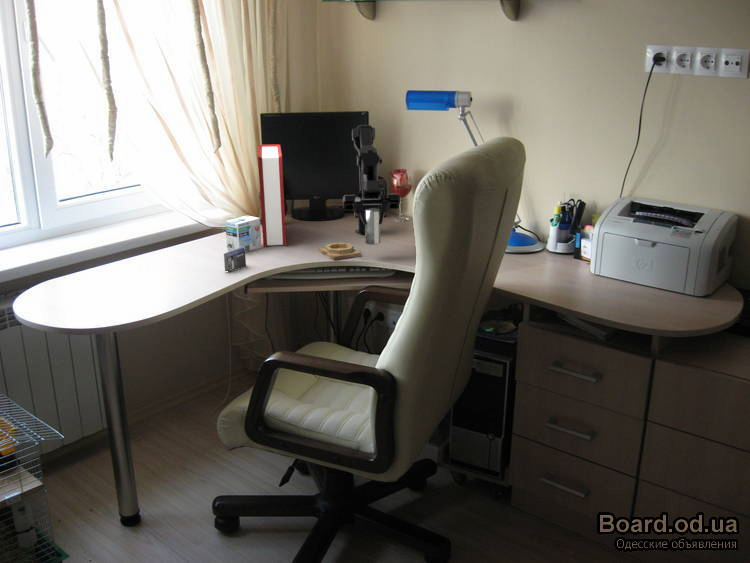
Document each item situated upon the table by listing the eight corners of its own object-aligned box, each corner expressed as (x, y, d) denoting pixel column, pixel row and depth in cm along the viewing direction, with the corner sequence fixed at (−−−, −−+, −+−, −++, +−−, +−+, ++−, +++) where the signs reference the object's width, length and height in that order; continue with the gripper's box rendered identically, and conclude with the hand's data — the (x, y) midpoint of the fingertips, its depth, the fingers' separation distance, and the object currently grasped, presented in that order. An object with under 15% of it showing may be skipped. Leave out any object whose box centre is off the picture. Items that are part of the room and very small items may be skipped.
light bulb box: (239, 254, 251) (237, 223, 248) (226, 251, 255) (224, 220, 252) (262, 247, 259) (260, 217, 256) (249, 244, 263) (247, 214, 260)
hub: (318, 251, 253) (318, 244, 253) (344, 247, 258) (344, 240, 257) (333, 260, 244) (333, 252, 243) (360, 256, 248) (360, 248, 247)
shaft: (362, 241, 245) (362, 209, 241) (375, 239, 247) (375, 207, 244) (369, 245, 241) (369, 212, 237) (383, 243, 243) (383, 210, 240)
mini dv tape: (228, 272, 232) (227, 254, 230) (225, 271, 233) (223, 253, 231) (246, 265, 239) (244, 248, 237) (242, 265, 240) (241, 247, 238)
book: (286, 246, 260) (281, 155, 250) (263, 247, 259) (257, 156, 249) (284, 227, 286) (280, 144, 275) (263, 228, 285) (258, 144, 274)
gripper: (342, 170, 240) (344, 211, 233) (399, 169, 241) (403, 210, 234) (341, 189, 250) (344, 229, 243) (396, 188, 251) (400, 227, 244)
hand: (373, 224), depth 241 cm, fingers closed on shaft, 5 cm apart
